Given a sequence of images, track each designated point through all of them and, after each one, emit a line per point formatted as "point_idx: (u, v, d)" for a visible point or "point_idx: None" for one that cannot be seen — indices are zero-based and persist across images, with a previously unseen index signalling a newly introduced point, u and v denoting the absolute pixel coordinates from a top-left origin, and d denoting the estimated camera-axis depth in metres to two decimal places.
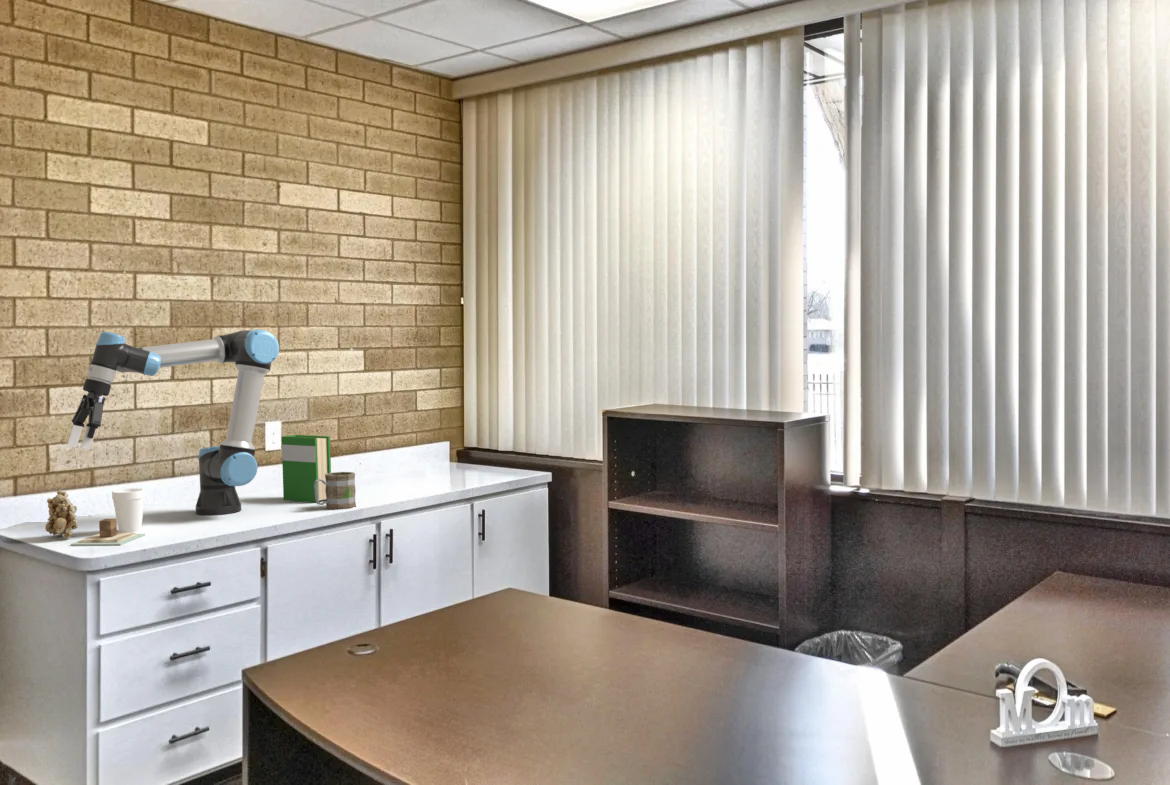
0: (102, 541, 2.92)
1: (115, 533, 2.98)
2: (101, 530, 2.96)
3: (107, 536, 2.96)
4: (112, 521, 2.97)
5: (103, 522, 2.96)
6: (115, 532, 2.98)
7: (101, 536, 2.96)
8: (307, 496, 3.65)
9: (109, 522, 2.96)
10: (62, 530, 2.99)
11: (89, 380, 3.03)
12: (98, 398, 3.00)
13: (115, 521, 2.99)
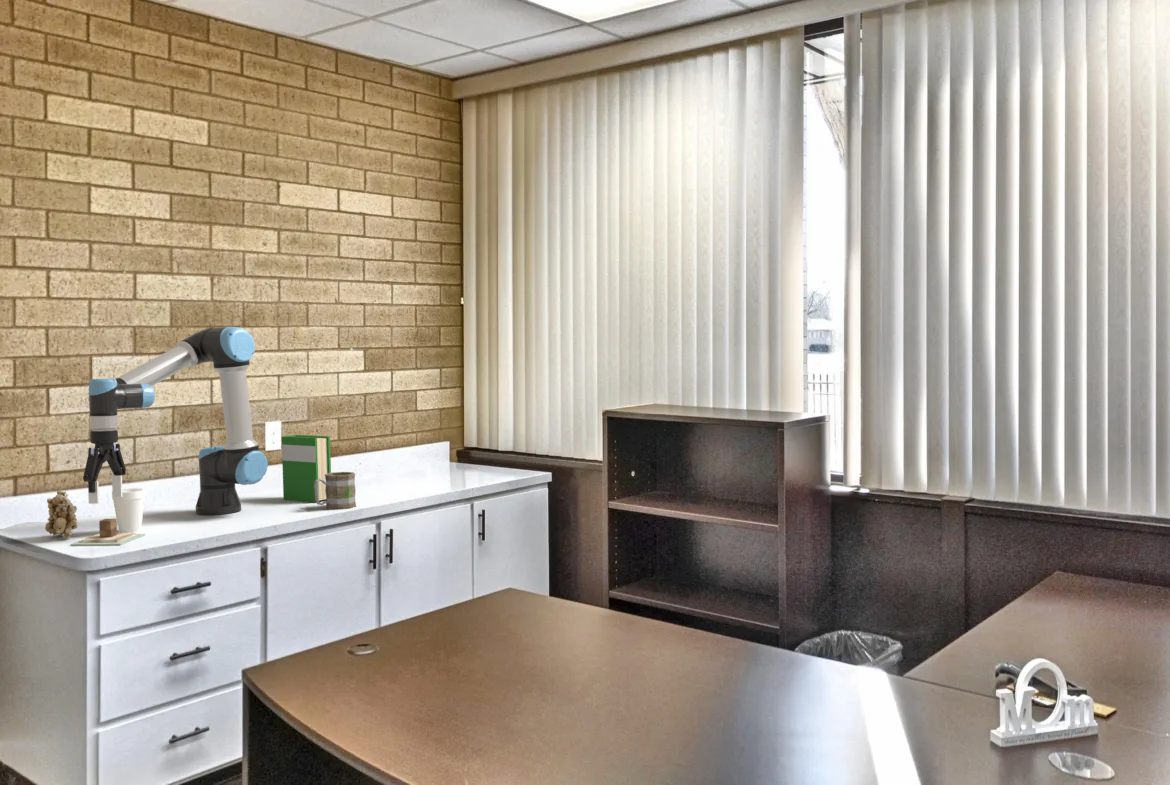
0: (102, 541, 2.92)
1: (115, 533, 2.98)
2: (101, 530, 2.96)
3: (107, 536, 2.96)
4: (112, 521, 2.97)
5: (103, 522, 2.96)
6: (115, 532, 2.98)
7: (101, 536, 2.96)
8: (307, 496, 3.65)
9: (109, 522, 2.96)
10: (62, 530, 2.99)
11: (90, 432, 2.95)
12: (90, 450, 2.90)
13: (115, 521, 2.99)
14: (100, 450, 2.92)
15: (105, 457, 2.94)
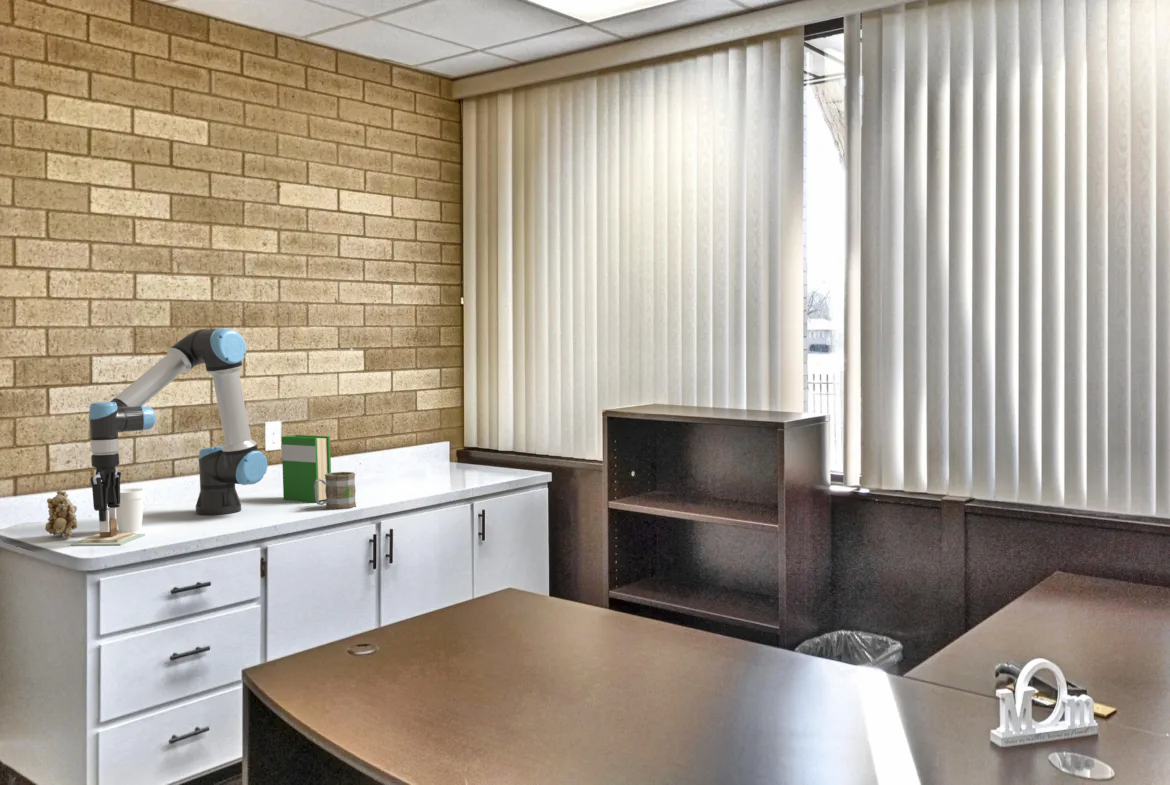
0: (102, 541, 2.92)
1: (115, 533, 2.98)
2: None
3: (107, 536, 2.96)
4: (112, 521, 2.97)
5: None
6: (115, 532, 2.98)
7: (101, 536, 2.96)
8: (307, 496, 3.65)
9: (109, 522, 2.96)
10: (62, 530, 2.99)
11: None
12: (92, 481, 2.91)
13: (115, 521, 2.99)
14: (101, 474, 2.93)
15: (108, 482, 2.95)
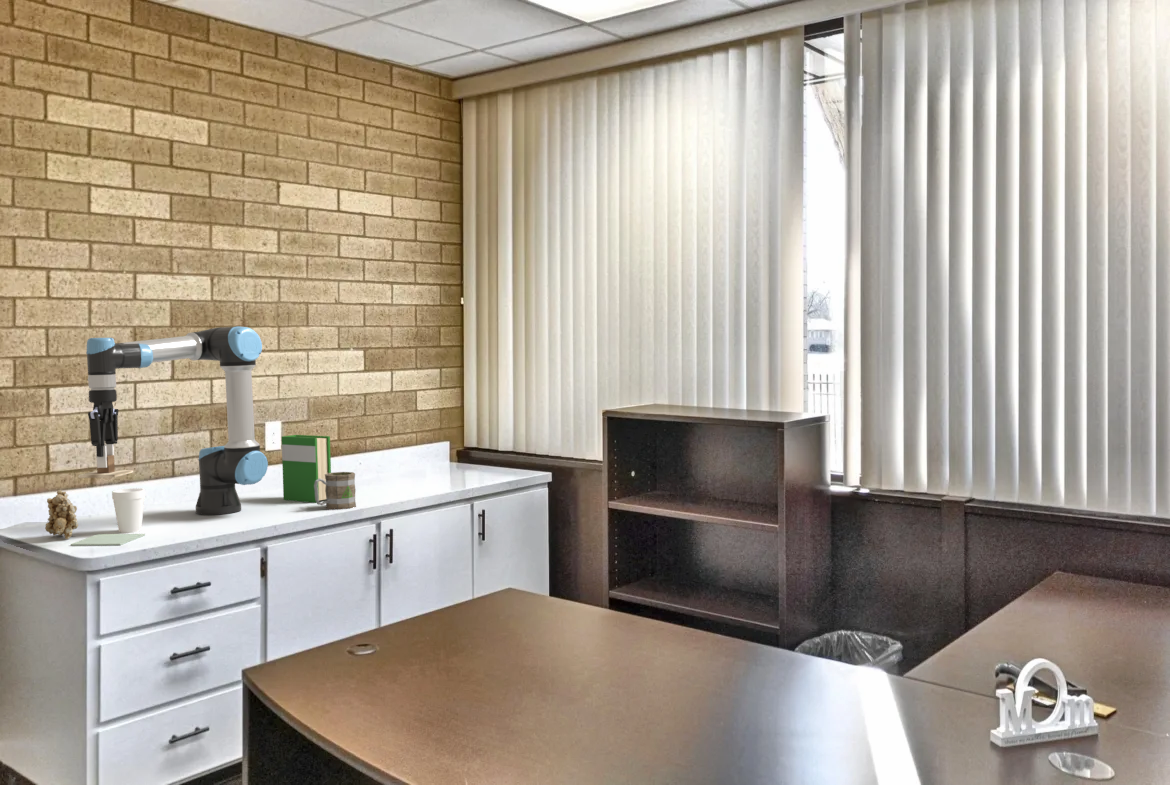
0: (99, 476, 2.91)
1: (113, 469, 2.98)
2: None
3: (105, 472, 2.95)
4: (110, 457, 2.96)
5: None
6: (113, 468, 2.98)
7: (99, 472, 2.95)
8: (307, 496, 3.65)
9: (107, 458, 2.95)
10: (62, 530, 2.99)
11: (89, 391, 2.94)
12: (89, 415, 2.90)
13: (113, 457, 2.98)
14: (99, 409, 2.92)
15: (106, 417, 2.94)
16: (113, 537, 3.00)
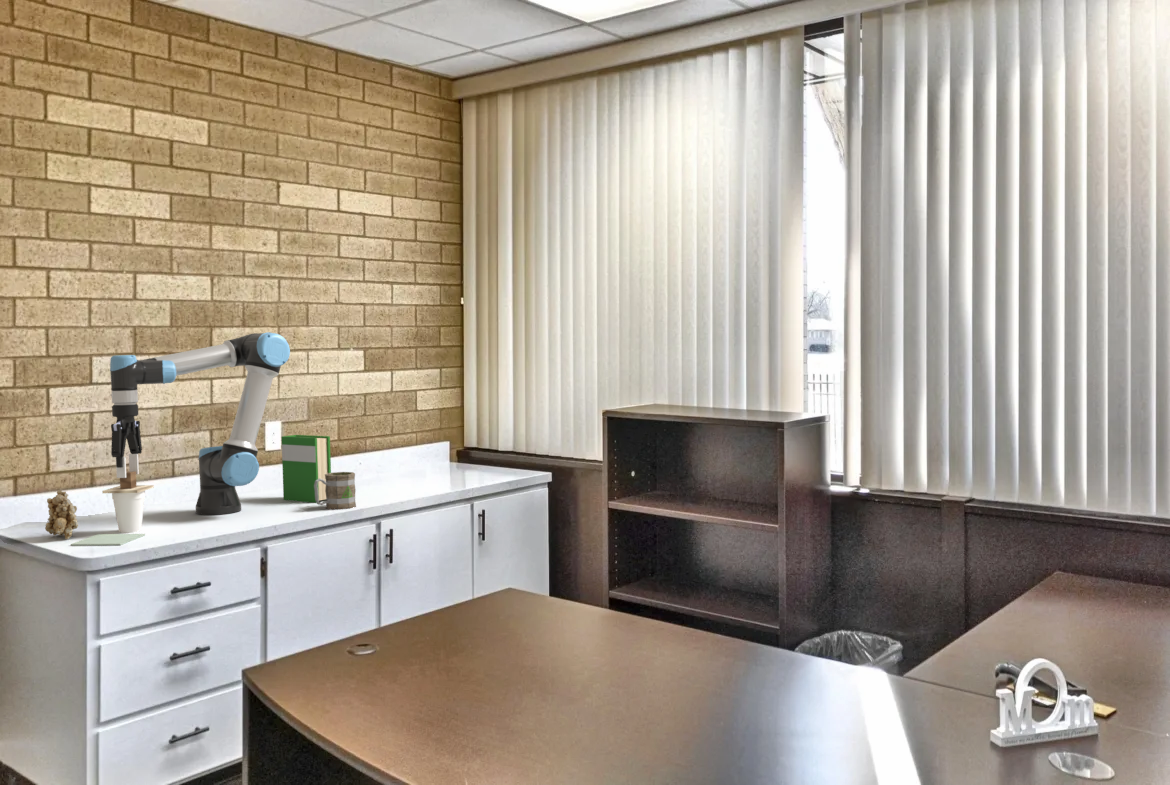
0: (123, 492, 3.07)
1: (135, 485, 3.13)
2: (121, 482, 3.10)
3: (127, 487, 3.10)
4: (132, 473, 3.11)
5: None
6: (135, 484, 3.13)
7: (121, 487, 3.10)
8: (307, 496, 3.65)
9: (129, 474, 3.10)
10: (62, 530, 2.99)
11: (112, 406, 3.09)
12: (112, 427, 3.05)
13: (135, 474, 3.13)
14: (122, 423, 3.07)
15: (127, 431, 3.09)
16: (113, 537, 3.00)
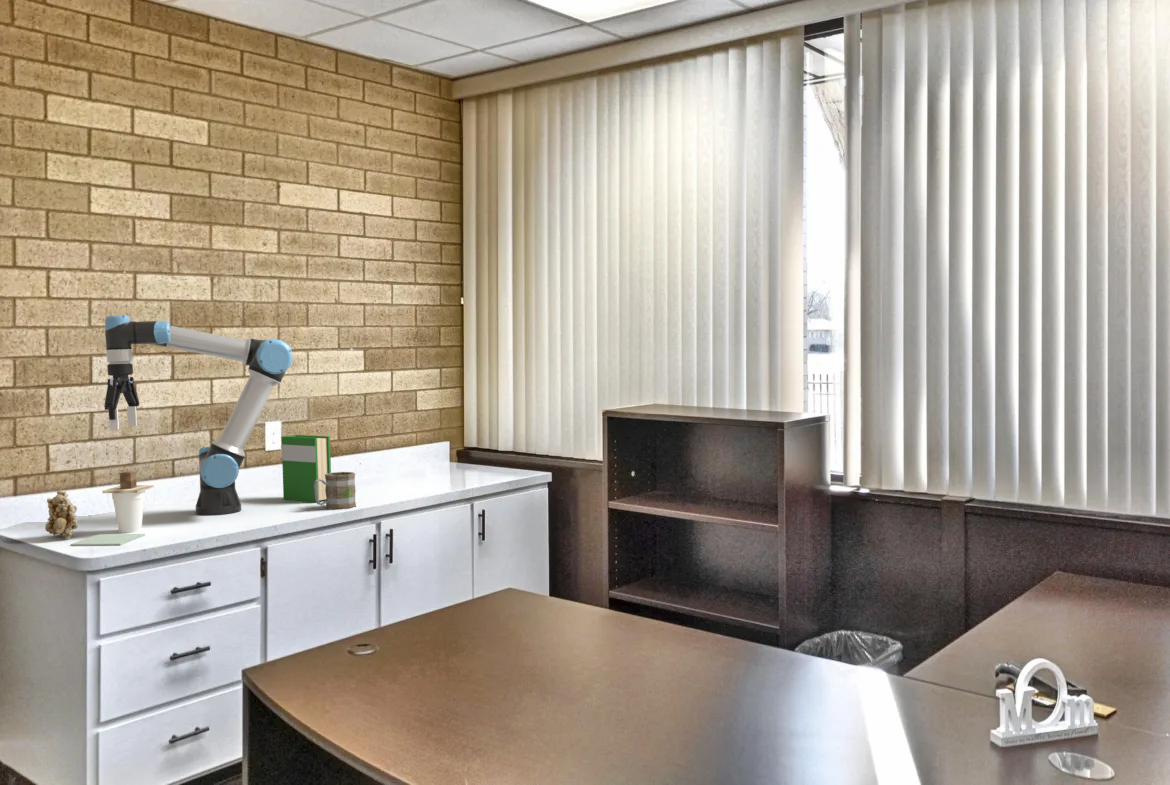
0: (123, 492, 3.07)
1: (135, 485, 3.13)
2: (121, 482, 3.10)
3: (127, 487, 3.10)
4: (132, 473, 3.11)
5: (123, 474, 3.10)
6: (135, 484, 3.13)
7: (121, 487, 3.10)
8: (307, 496, 3.65)
9: (129, 474, 3.10)
10: (62, 530, 2.99)
11: None
12: (109, 381, 3.14)
13: (135, 474, 3.13)
14: (118, 381, 3.17)
15: (122, 388, 3.19)
16: (113, 537, 3.00)
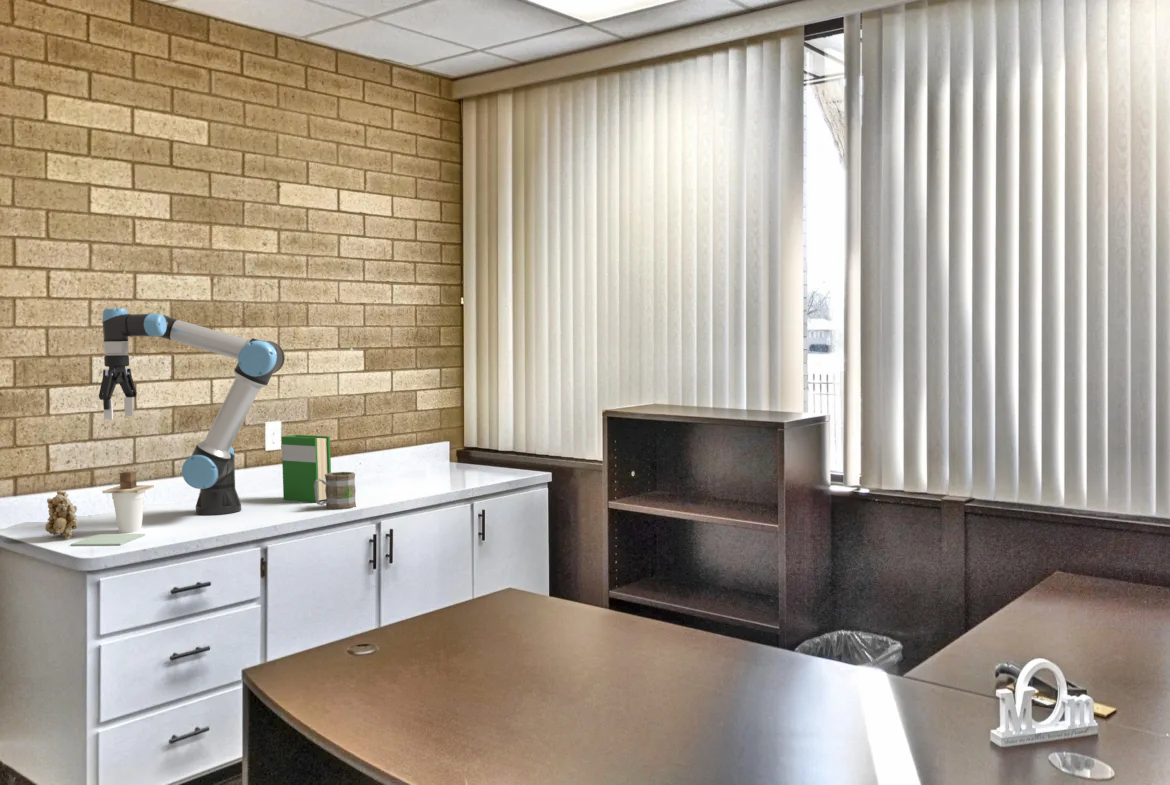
0: (123, 492, 3.07)
1: (135, 485, 3.13)
2: (121, 482, 3.10)
3: (127, 487, 3.10)
4: (132, 473, 3.11)
5: (123, 474, 3.10)
6: (135, 484, 3.13)
7: (121, 487, 3.10)
8: (307, 496, 3.65)
9: (129, 474, 3.10)
10: (62, 530, 2.99)
11: (104, 357, 3.28)
12: (104, 372, 3.23)
13: (135, 474, 3.13)
14: (113, 372, 3.26)
15: (118, 379, 3.27)
16: (113, 537, 3.00)
